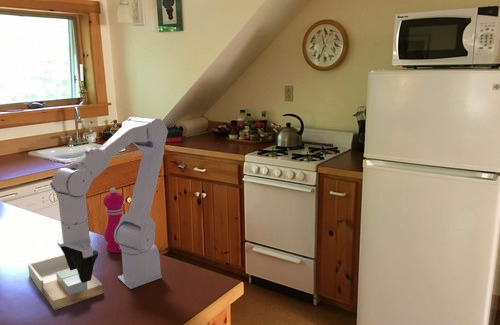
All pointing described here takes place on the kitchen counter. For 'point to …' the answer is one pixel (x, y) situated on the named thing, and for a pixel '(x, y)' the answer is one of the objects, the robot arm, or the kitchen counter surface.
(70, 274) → the tile
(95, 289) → the oak plate
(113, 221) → the pepper mill
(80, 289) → the tile
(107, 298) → the kitchen counter surface
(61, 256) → the box
